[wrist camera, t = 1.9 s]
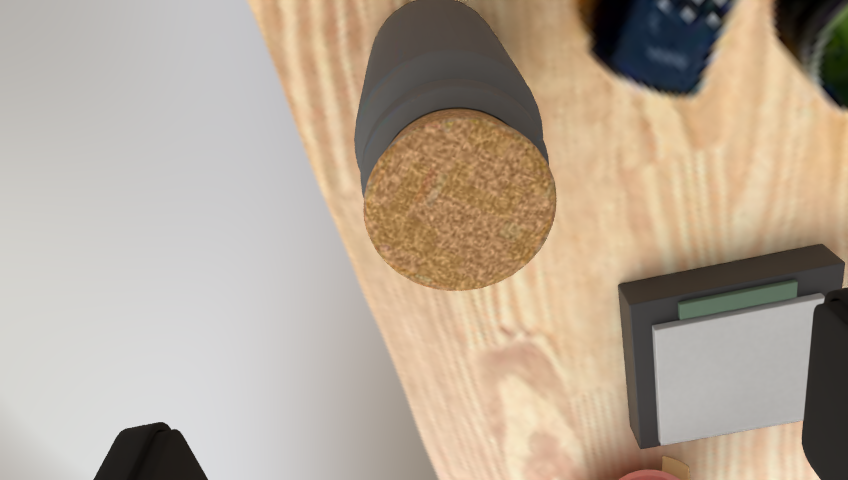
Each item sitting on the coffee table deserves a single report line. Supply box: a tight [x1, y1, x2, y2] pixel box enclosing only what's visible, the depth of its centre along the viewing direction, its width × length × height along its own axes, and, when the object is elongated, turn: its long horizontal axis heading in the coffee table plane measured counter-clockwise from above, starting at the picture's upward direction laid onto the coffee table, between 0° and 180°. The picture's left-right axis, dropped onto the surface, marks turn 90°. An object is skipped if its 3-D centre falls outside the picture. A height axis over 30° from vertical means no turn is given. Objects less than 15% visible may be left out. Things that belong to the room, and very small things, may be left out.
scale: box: [618, 244, 845, 449], centre depth 35 cm, size 11×11×2 cm
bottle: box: [354, 0, 556, 291], centre depth 22 cm, size 6×6×15 cm
